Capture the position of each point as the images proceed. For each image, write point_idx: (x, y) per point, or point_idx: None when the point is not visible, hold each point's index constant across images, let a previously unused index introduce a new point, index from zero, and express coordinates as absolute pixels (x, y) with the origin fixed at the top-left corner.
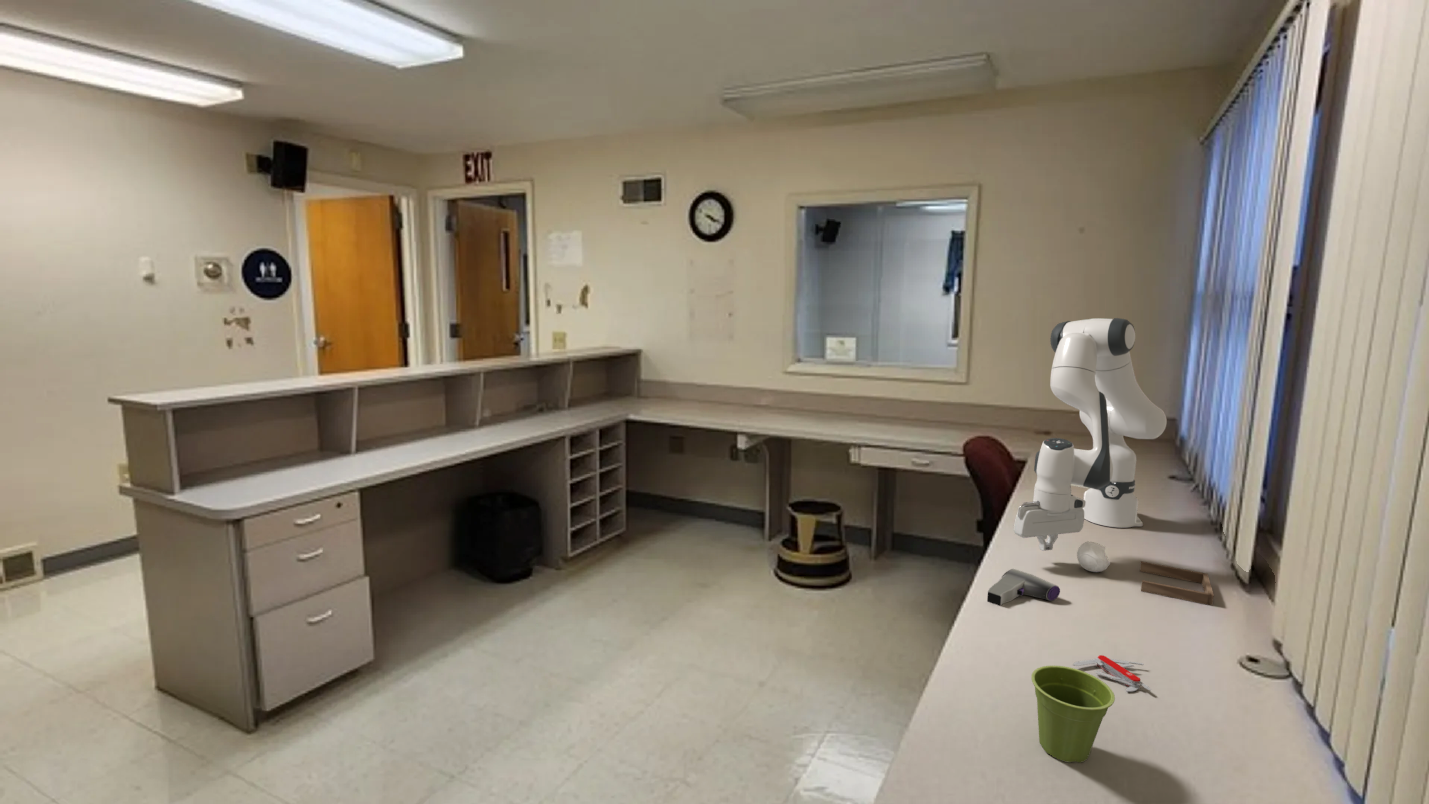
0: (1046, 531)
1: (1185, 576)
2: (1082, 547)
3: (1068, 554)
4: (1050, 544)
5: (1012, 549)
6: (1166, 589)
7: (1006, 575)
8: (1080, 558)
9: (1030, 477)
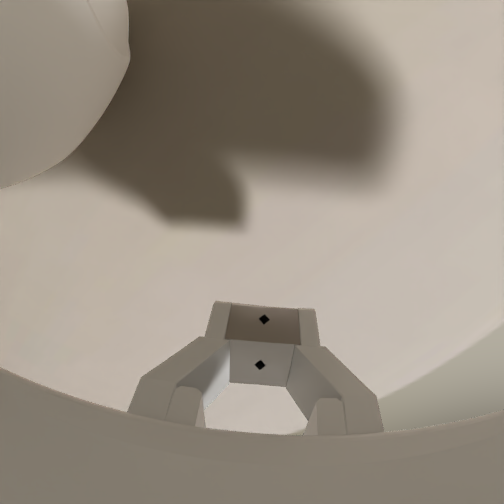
0: (403, 486)
1: None
2: (17, 69)
3: (58, 285)
4: (241, 339)
5: (292, 404)
6: None
7: None
8: (117, 45)
9: None
